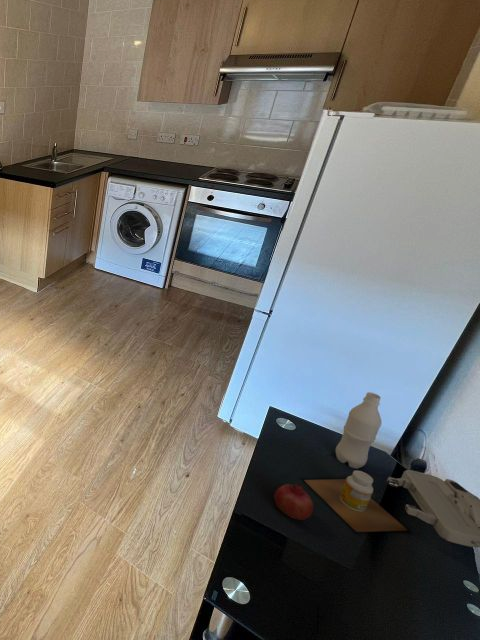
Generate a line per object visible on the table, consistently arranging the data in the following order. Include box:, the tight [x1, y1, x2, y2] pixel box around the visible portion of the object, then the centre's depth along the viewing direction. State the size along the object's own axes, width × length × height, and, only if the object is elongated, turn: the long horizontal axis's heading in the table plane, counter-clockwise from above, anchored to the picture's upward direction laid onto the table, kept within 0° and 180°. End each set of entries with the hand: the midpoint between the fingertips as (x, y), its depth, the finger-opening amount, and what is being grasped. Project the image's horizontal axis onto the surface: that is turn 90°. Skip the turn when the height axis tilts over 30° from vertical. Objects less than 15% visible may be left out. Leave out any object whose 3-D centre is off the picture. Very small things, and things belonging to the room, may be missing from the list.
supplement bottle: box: [340, 469, 374, 512], centre depth 110 cm, size 5×5×10 cm
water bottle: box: [334, 392, 382, 469], centre depth 123 cm, size 7×7×25 cm
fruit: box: [273, 483, 314, 521], centre depth 108 cm, size 8×8×10 cm
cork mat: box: [303, 478, 408, 533], centre depth 112 cm, size 16×14×1 cm
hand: (397, 494), depth 107 cm, fingers open, 8 cm apart
